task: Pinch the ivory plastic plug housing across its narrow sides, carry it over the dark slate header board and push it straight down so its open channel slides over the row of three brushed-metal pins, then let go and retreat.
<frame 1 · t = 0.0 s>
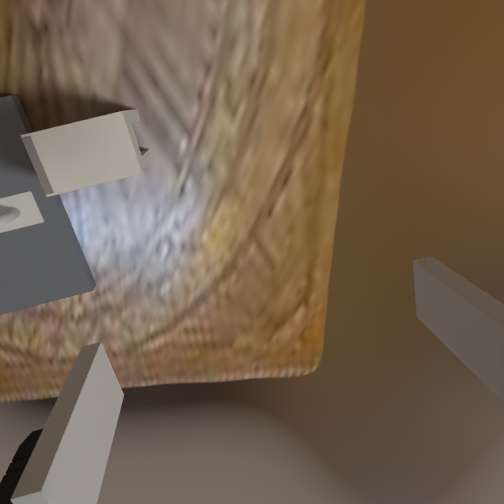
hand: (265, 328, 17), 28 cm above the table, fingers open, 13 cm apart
housing: (104, 145, 40), on the table
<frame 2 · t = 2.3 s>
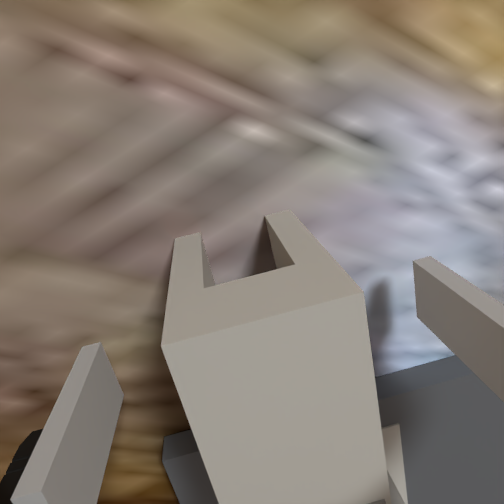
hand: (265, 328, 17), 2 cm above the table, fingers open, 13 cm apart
header board: (367, 477, 23), on the table
housing: (253, 304, 18), on the table
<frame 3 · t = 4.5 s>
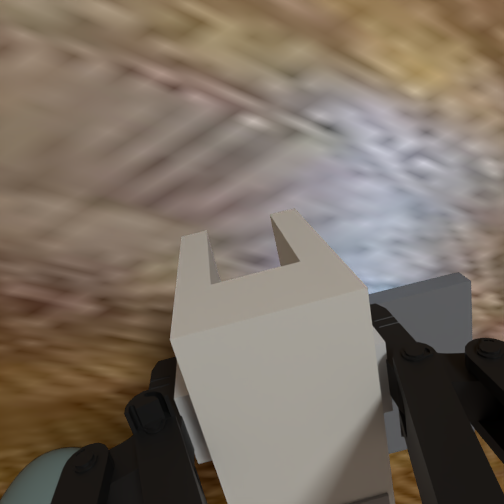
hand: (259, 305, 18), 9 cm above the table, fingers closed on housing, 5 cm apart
header board: (338, 382, 31), on the table
housing: (257, 302, 19), point 9 cm above the table, touching gripper
cup: (74, 466, 32), on the table
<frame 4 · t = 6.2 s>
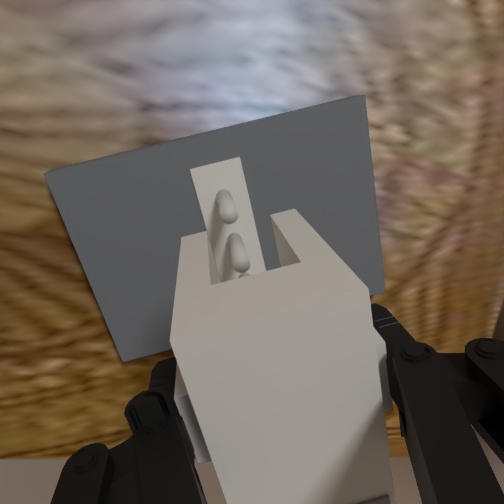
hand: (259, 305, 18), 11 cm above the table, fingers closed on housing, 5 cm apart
header board: (232, 232, 28), on the table
housing: (258, 302, 19), point 10 cm above the table, touching gripper
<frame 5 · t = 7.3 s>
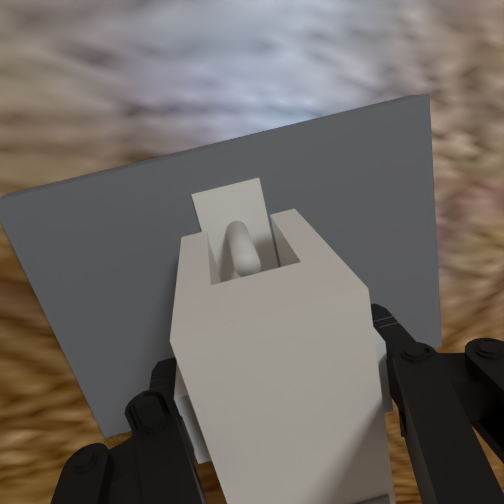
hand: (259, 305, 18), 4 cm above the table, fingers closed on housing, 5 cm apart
header board: (246, 272, 22), on the table
housing: (258, 302, 19), point 3 cm above the table, touching gripper
when the fingers open (2 cm above the table, at t = 8.2 s): housing stays where it is, resting on header board.
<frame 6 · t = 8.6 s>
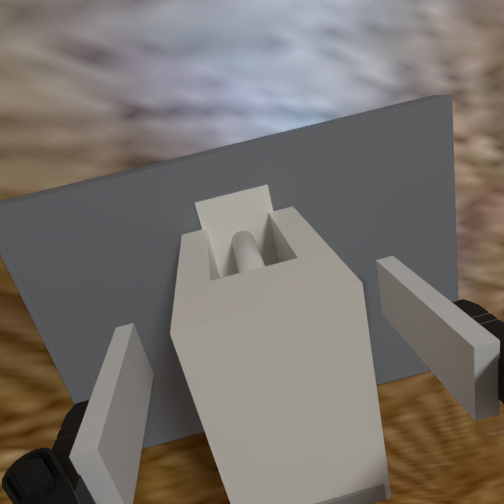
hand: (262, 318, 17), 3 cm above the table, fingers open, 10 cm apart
header board: (252, 284, 20), on the table
housing: (257, 299, 19), point 2 cm above the table, touching header board
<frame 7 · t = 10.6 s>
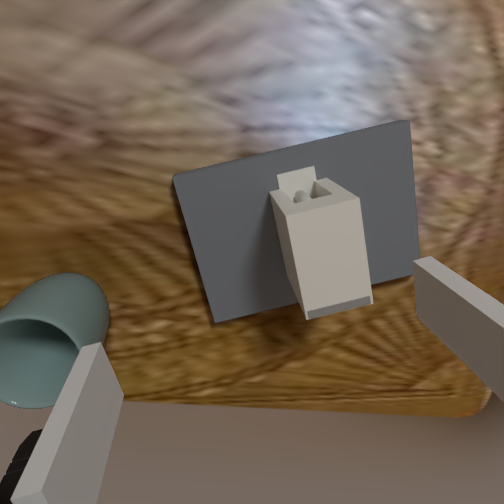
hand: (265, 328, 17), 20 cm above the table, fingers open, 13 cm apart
header board: (302, 223, 37), on the table
housing: (306, 228, 35), point 2 cm above the table, touching header board
cup: (76, 298, 37), on the table
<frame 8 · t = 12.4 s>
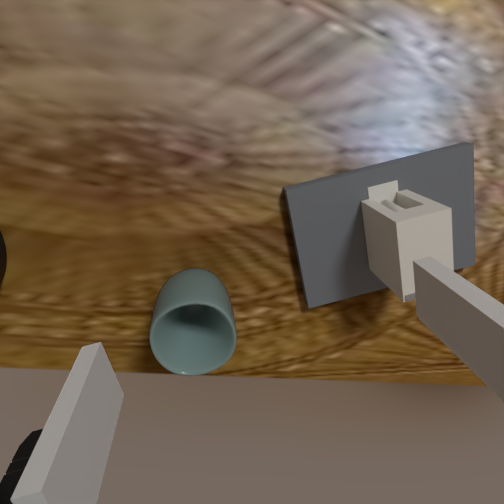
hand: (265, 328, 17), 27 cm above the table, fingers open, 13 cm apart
header board: (381, 226, 45), on the table
housing: (387, 230, 43), point 2 cm above the table, touching header board
cup: (194, 290, 45), on the table
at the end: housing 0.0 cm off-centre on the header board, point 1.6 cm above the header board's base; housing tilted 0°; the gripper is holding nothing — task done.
